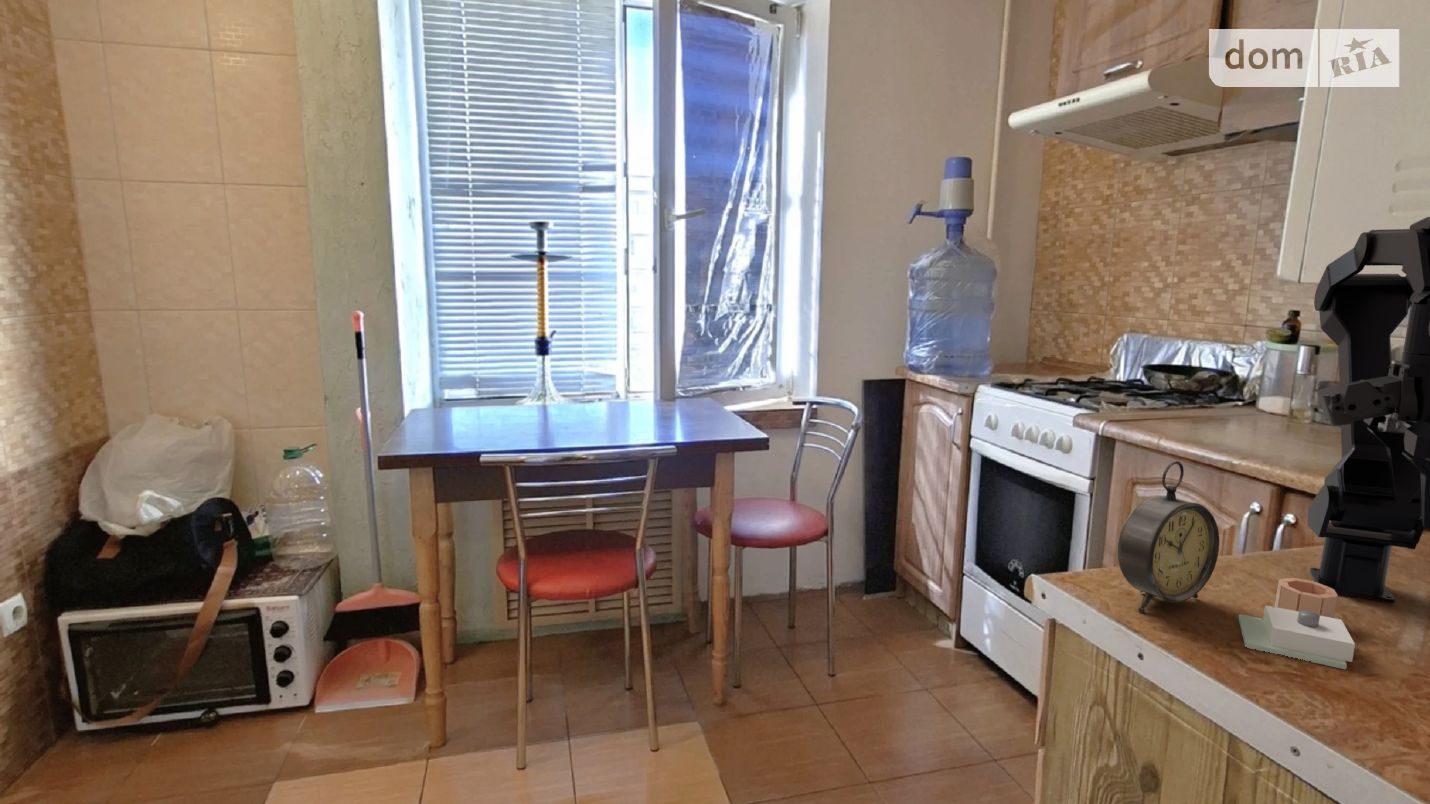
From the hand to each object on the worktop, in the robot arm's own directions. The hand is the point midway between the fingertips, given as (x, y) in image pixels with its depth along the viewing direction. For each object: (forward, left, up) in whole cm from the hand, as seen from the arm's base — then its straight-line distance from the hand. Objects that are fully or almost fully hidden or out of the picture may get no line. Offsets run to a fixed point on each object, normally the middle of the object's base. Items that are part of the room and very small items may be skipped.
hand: (1415, 514), depth 68 cm
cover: (+6, -8, -12) cm, 16 cm away
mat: (+6, -9, -13) cm, 17 cm away
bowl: (-1, -7, -13) cm, 15 cm away
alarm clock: (+3, -20, -13) cm, 24 cm away
